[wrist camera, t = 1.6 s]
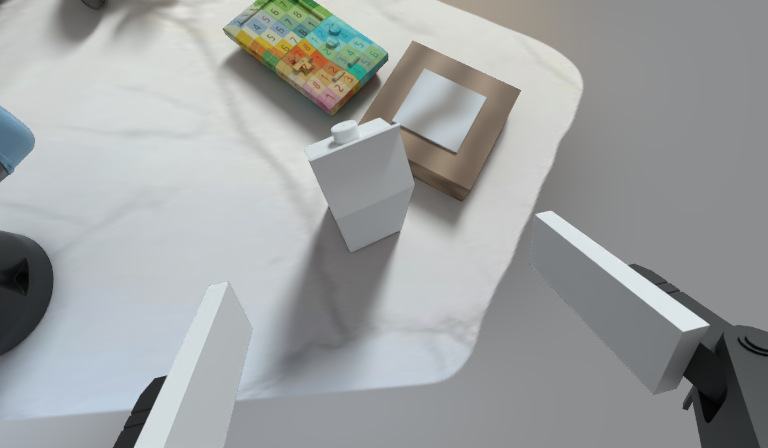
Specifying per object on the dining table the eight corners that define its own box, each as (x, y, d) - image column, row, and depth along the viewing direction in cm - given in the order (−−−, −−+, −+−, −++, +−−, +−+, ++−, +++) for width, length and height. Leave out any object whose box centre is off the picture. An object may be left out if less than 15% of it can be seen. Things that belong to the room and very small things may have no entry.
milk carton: (401, 230, 41) (422, 164, 23) (350, 253, 40) (328, 204, 22) (378, 182, 42) (379, 85, 24) (328, 204, 42) (290, 119, 23)
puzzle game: (329, 106, 40) (219, 22, 43) (334, 126, 45) (234, 49, 48) (388, 48, 43) (280, -28, 46) (387, 73, 47) (289, 3, 50)
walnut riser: (355, 147, 44) (353, 130, 40) (409, 62, 48) (413, 38, 43) (461, 201, 42) (470, 189, 38) (509, 108, 46) (522, 88, 42)
